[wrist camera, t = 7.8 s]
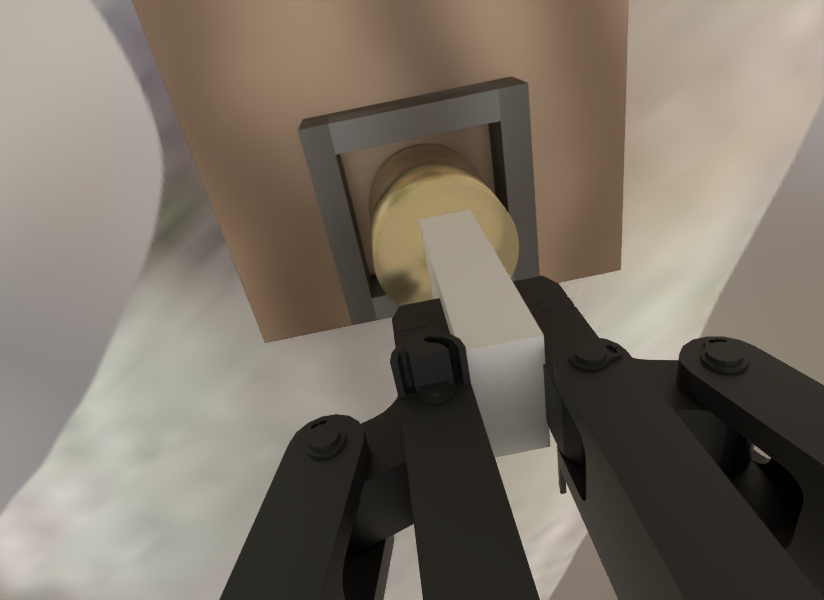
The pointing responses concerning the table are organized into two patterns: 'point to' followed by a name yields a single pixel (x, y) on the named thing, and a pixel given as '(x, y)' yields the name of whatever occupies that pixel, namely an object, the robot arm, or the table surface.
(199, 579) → the table surface
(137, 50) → the table surface
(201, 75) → the mount
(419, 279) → the knob
